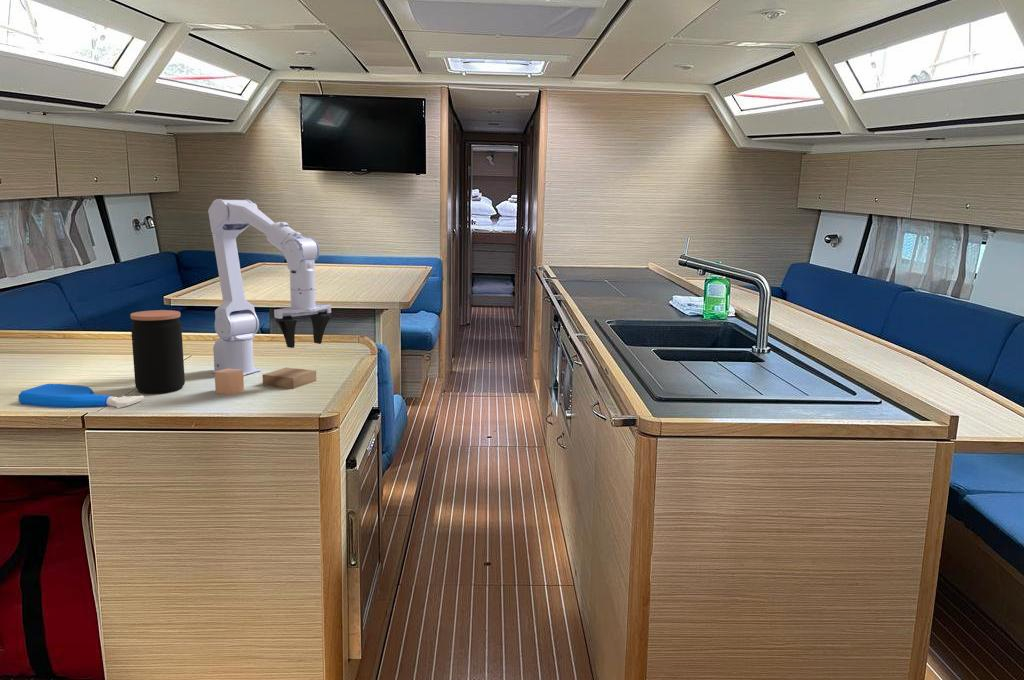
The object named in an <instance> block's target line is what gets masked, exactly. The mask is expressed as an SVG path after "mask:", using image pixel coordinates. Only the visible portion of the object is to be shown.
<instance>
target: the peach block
mask: <svg viewBox="0 0 1024 680" xmlns="http://www.w3.org/2000/svg"><path fill="white" fill-rule="evenodd" d="M214 382H215V383H214V385H215V387H214V388H215V393H216V394H224V395H234V394H238V393H240V392H244V391H245V381H244V375H243V370H239V369H231V368H227V369H223V370H219V371H216V372H215V373H214Z"/></svg>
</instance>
